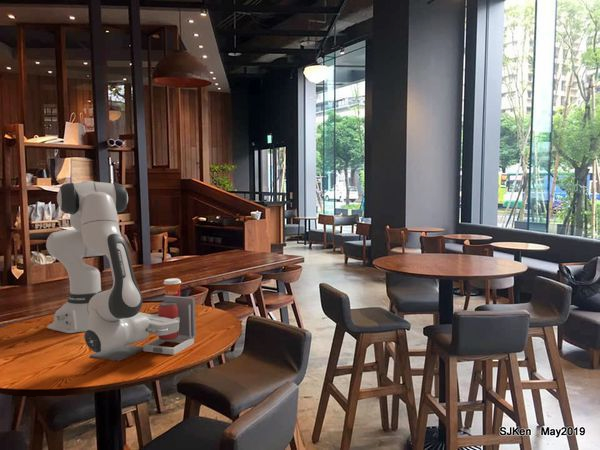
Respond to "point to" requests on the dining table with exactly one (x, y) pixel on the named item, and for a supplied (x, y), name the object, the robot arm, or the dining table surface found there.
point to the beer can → (168, 316)
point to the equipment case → (185, 327)
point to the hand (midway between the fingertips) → (170, 317)
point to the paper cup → (172, 287)
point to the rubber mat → (118, 353)
